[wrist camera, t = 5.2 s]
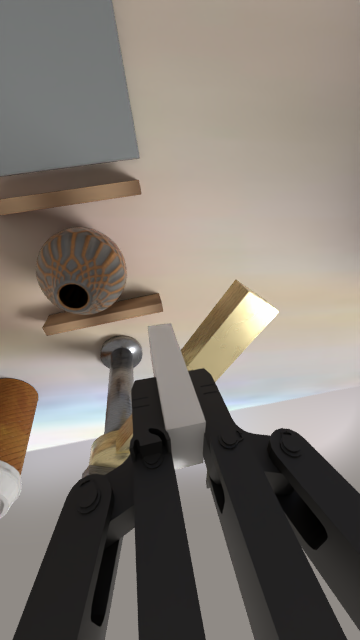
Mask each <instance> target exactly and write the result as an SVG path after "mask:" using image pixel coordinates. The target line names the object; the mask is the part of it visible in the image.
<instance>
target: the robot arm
mask: <svg viewBox="0 0 360 640" xmlns="http://www.w3.org/2000/svg"><path fill="white" fill-rule="evenodd" d="M148 334H149V343H150V352H151V361H152V367H153V373H154V377H153V378H147V379H142V380H136V381H135V382H134V384H133V387H132V389H131V400H132V422H133V437H132V439H131V440H130V446H129V450H130V455H129V456H128V458H127V459H126V460H125V461H124V462H123V463H122V464H121V465H120V466H118V467H117V468H115V469H114V470H112V471H110V472H109V473H107V474H105V475H100V474H91V475H87V476H85V477H84V478H82V479H80V480H79V481H78V482H77V483H76V484H75V485H74V486H73V487H72V489H71V491H70V492H69V494H68V496H67V498H66V501H65V503H64V506H63V508H62V511H61V514H60V516H59V519H58V522H57V524H56V527H55V530H54V532H53V535H52V538H51V540H50V543H49V545H48V548H47V551H46V553H45V556H44V559H43V561H42V564H41V566H40V569H39V572H38V575H37V577H36V580H35V582H34V585H33V587H32V590H31V593H30V595H29V598H28V601H27V603H26V606H25V609H24V611H23V614H22V617H21V619H20V622H19V625H18V627H17V630H16V632H15V635H14V638H13V640H105V635H106V630H107V624H108V618H109V613H110V607H111V602H112V596H113V590H114V585H115V578H116V574H117V567H118V562H119V557H120V551H121V545H122V540H123V536H124V535H125V534H127V533H128V532H129V531H130V530H132V529H133V528H134V527H135V544H136V572H137V598H138V599H137V602H138V630H139V640H206V639H205V633H204V628H203V622H202V617H201V611H200V606H199V600H198V595H197V589H196V584H195V578H194V573H193V567H192V562H191V557H190V551H189V545H188V540H187V534H186V529H185V523H184V518H183V512H182V507H181V501H180V496H179V491H178V485H177V480H176V475H175V470H176V469H180V468H183V467H188V466H192V465H196V464H200V463H203V457H204V460H205V464H206V467H207V478H206V484H207V488H211V492H212V495H213V499H214V502H215V505H216V509H217V512H218V516H219V519H220V523H221V526H222V530H223V533H224V536H225V540H226V543H227V547H228V550H229V553H230V557H231V560H232V564H233V567H234V570H235V574H236V577H237V581H238V584H239V588H240V591H241V595H242V598H243V601H244V605H245V608H246V612H247V615H248V618H249V622H250V625H251V629H252V632H253V635H254V639H255V640H347V638H346V636H345V634H344V632H343V630H342V628H341V626H340V624H339V622H338V620H337V618H336V616H335V614H334V612H333V610H332V608H331V606H330V604H329V602H328V600H327V598H326V596H325V594H324V592H323V590H322V588H321V586H320V584H319V582H318V580H317V578H316V576H315V574H314V572H313V570H312V568H311V566H310V564H309V562H308V560H307V558H306V556H305V554H304V552H303V550H304V551H305V553H306V554H307V556H308V557H309V558H310V560H311V561H312V563H313V564H314V566H315V567H316V569H317V570H318V571H319V573H320V574H321V576H322V577H323V579H324V580H325V581H326V583H327V584H328V586H329V587H330V589H331V590H332V592H333V593H334V594H335V596H336V597H337V599H338V600H339V602H340V603H341V604H342V606H343V607H344V609H345V610H346V612H347V613H348V614H349V616H350V617H351V619H352V620H353V622H354V623H355V625H356V626H357V628H358V629H359V630H360V494H359V493H358V492H357V491H356V490H355V489H354V488H353V487H352V486H351V485H350V484H349V483H348V482H347V481H346V480H345V479H344V478H343V477H342V476H341V475H340V474H339V473H338V472H337V471H336V470H335V469H334V468H333V467H332V466H331V465H330V464H329V463H328V462H327V461H326V460H325V459H324V458H323V457H322V456H321V455H320V454H319V453H318V452H317V451H316V450H315V449H314V448H313V447H312V446H311V445H310V444H309V443H308V442H307V441H306V440H305V439H304V438H303V437H302V436H300V435H299V434H298V433H297V432H294V431H292V430H290V429H283V428H281V429H278V430H275V431H274V432H273V433H272V434H271V436H268V435H259V434H252V433H248V432H246V431H244V430H242V429H241V428H239V427H238V426H237V425H236V424H235V423H234V421H233V419H232V418H231V416H230V413H229V411H228V409H227V407H226V405H225V403H224V401H223V398H222V396H221V394H220V392H219V390H218V388H217V386H216V384H215V381H214V379H213V377H212V375H211V374H210V373H209V372H208V371H207V370H206V369H204V368H202V369H196V370H190V371H188V370H187V367H186V364H185V361H184V359H183V356H182V353H181V350H180V347H179V344H178V342H177V339H176V336H175V333H174V330H173V328H172V325H171V323H169V324H161V325H153V326H148ZM302 548H303V550H302Z"/></svg>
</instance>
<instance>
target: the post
mask: <svg viewBox="0 0 360 640" xmlns="http://www.w3.org/2000/svg"><path fill="white" fill-rule="evenodd" d="M141 358H142V348H141V345H140V344H139V342H138V341H137V340H135V339H134V338H132V337H129V336H116V337H113V338H110V339H109V340H107V341H106V342H105V343H104V345H103V346H102V349H101V360H102V362H103V364H104V365H105V366H106V367H108V368H110V373H109V385H108V397H107V409H106V420H105V432H104V434H106V433H109V432H112V431H116V430H119V429H120V428H121V427H122V425H123V424H124V423H125V421H126V420H127V419H128V418H129V416H130V415H131V414H132V400H131V389H132V387H133V384H134V380H133V368H134V367H135V366H136V365H138V364H139V362H140V361H141Z"/></svg>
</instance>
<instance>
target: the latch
mask: <svg viewBox="0 0 360 640" xmlns="http://www.w3.org/2000/svg"><path fill="white" fill-rule="evenodd" d="M278 312H279V311H278V310H277V309H275V308H274V307H273V306H272V305H271V304H269V303H268V302H267V301H266V300H265V299H263V298H262V297H260V296H259V295H258V294H256V293H255V292H253V291H252V290H250V289H249V288H247V287H246V286H244V285H243V284H242V283H240V282H239V281H237V280H235V281H234V283H233V284H232V285H231V286H230V288H229V289H228V290H227V292H226V293H225V294H224V295H223V297H222V298H221V299H220V301H219V302H218V303H217V304H216V306H215V307H214V308H213V310H212V311H211V312H210V313H209V315H208V316H207V317H206V319H205V320H204V321H203V322H202V324H201V325H200V326H199V328H198V329H197V330H196V331H195V333H194V334H193V335H192V337H191V338H190V339H189V340H188V342H187V343H186V344H185V346H184V347H183V348H182V349H181V353H182V356H183V359H184V361H185V364H186V367H187V370H188V371H190V370H196V369H202V368H204V369H206V370H207V371H208V372H209V373H210V374H211V375H212V377H213V379H214V381H215V382H216V381H217V379H218V378H219V377H220V376H221V375H222V374H223V373H224V372H225V371H226V370H227V368H228V367H229V366H230V365H231V364H232V363H233V362H234V361H235V360H236V359H237V357H238V356H239V355H240V354H241V353H242V352H243V351H244V350H245V349H246V348H247V346H248V345H249V344H250V343H251V342H252V341H253V340H254V339H255V338H256V337H257V335H258V334H259V333H260V332H261V331H262V330H263V329H264V328H265V327H266V326H267V324H268V323H269V322H270V321H271V320H272V319H273V318H274V317H275V316H276V315H277V313H278ZM132 437H133V422H132V414H131V415H130V416H129V418H128V419H127V420H126V421H125V423H124V424H123V425H122V427H121V428H120V429H119V430H116V431H112V432H109V433H106V434H104V435H102V436H100V437H99V438H97V439H96V440H95V441H94V443H93V444H92V447H91V454H90V462H89V466H88V468H87V469H86V470H85V472H84V473H83V474H82V478H84V477H85V476H87V475H91V474H100V475H105V474H107V473H109V472H110V471H112V470H114V469H115V468H117V467H118V466H120V465H121V464H122V463H123V462H124V461H125V460H126V459H127V458H128V456H129V455H130V450H129V446H130V440H131V439H132Z"/></svg>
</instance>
